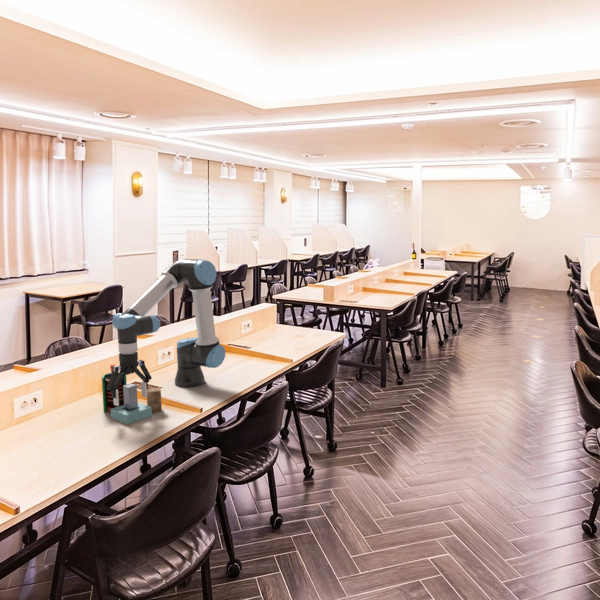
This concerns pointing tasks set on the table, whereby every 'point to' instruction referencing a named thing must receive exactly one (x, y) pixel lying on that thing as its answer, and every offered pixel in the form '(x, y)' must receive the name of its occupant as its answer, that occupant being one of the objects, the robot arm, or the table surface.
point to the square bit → (130, 397)
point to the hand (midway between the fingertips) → (130, 400)
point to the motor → (107, 396)
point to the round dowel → (154, 400)
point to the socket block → (131, 414)
